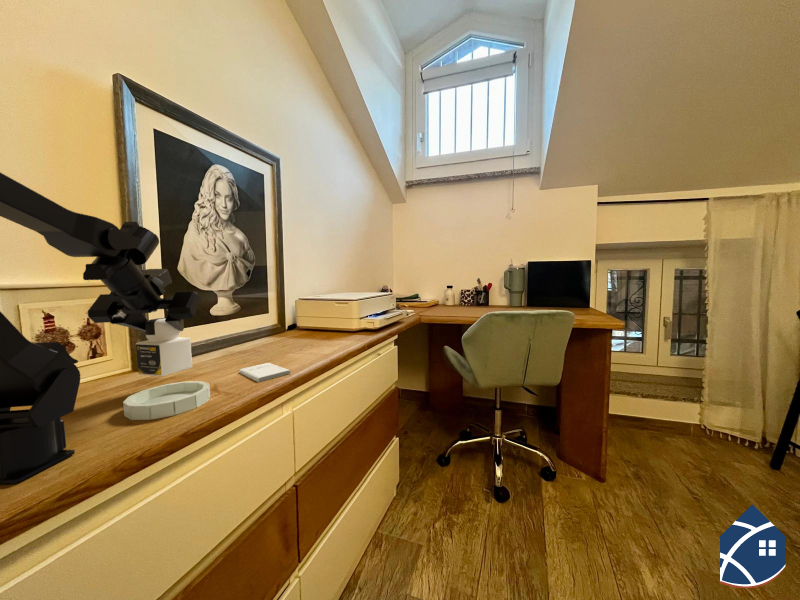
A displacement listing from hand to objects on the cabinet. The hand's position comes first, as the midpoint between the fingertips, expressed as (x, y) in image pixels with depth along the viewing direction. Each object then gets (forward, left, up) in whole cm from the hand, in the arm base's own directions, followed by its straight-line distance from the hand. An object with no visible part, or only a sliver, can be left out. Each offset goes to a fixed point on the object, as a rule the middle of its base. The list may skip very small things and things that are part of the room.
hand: (167, 330), depth 68 cm
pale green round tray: (-10, -8, -13) cm, 19 cm away
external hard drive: (+10, -17, -14) cm, 24 cm away
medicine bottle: (-1, 0, -9) cm, 9 cm away
